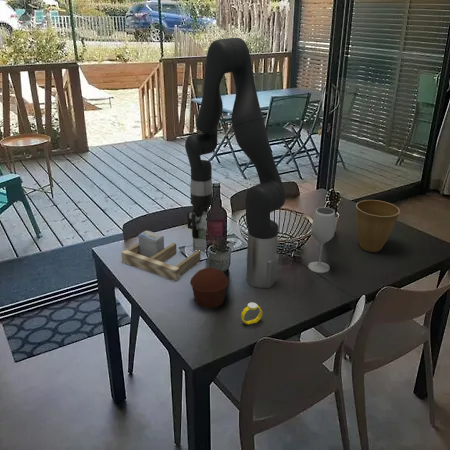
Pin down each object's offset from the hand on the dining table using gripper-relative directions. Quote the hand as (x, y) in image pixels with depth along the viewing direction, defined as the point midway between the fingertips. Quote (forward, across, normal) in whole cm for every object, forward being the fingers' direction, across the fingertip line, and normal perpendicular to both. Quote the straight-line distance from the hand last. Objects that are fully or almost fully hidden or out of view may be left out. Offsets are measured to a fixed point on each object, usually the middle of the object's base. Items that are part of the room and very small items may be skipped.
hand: (201, 233), depth 173 cm
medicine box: (+6, -14, +11) cm, 19 cm away
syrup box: (+6, 0, 0) cm, 6 cm away
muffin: (+6, -26, -20) cm, 33 cm away
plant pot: (+6, +34, -52) cm, 62 cm away
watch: (+6, -29, -36) cm, 47 cm away
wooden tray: (+6, -15, +6) cm, 17 cm away
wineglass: (+6, +10, -41) cm, 43 cm away
